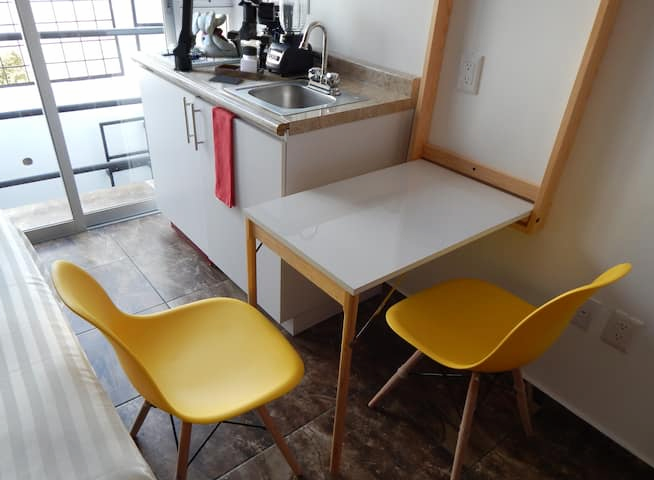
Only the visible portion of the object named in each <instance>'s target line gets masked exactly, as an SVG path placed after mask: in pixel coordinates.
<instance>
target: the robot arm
mask: <svg viewBox="0 0 654 480" xmlns="http://www.w3.org/2000/svg"><path fill="white" fill-rule="evenodd" d="M181 2H182V3H181V5H182V7H181V29H180V31H179V35H178V39H177V43H176V44H177V45H176V46H175V48H174V49H173V50H172V54H173V57H174V58H173V59H174V68H173V71H177V72H186V73H188V72H190V71H192V70H194V67H193V59H192V58H191V57H192V54H191V53H192V51H193V50H194V48H195V45H196V46H197V35H196V34H193V31H192V20H193V14H194V0H182V1H181ZM237 5H238V6H239V7H242V13H243V14H242V22H241V27H240V28H239V30H234V29H232V30H229V31H227V33H226V39H227V40H229V42H230V43H231V42H232V44H233V45H234V47H236V50H237V53H238V56H239V57H238V58H242V57H241V46H242V41H245V42H251V41H258V42H260V43H259V44H258V45H259V52H258V53H259V54H258V58H259V61H261V60H262V58H263V55H264V52H265V50H266V48H267V47H268V46H269V45H271V44H272V43H273V42H274V41H273V40H274V38H273V35H272V34H265V33H263V34H262V35H258V33H259V32H258V18H259V19H260V21H268V22H275V20H276V6H275V2H271V1H270V2H268V1H263V0H240V2H239V3H238V4H237Z"/></svg>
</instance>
